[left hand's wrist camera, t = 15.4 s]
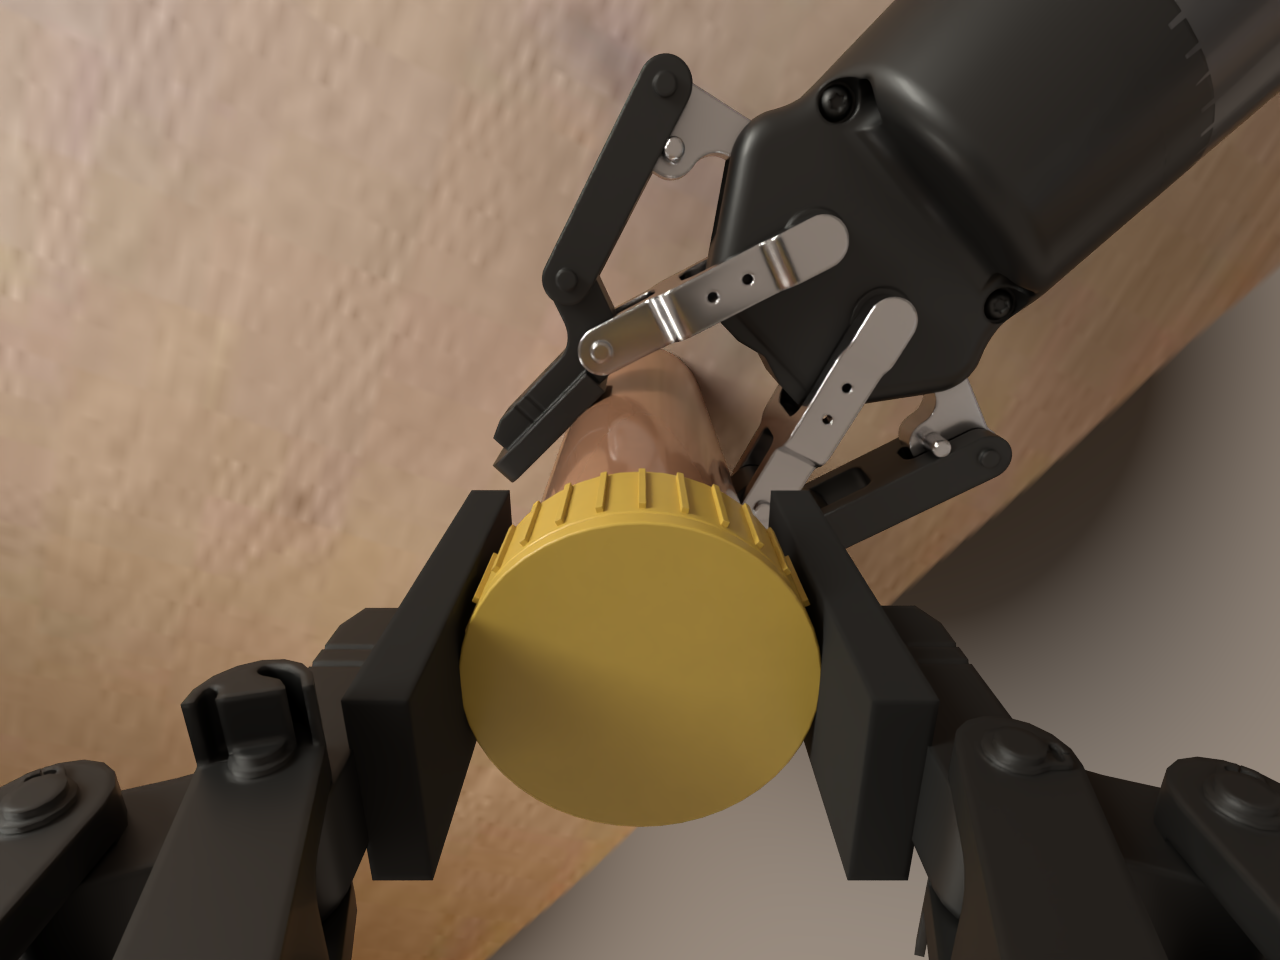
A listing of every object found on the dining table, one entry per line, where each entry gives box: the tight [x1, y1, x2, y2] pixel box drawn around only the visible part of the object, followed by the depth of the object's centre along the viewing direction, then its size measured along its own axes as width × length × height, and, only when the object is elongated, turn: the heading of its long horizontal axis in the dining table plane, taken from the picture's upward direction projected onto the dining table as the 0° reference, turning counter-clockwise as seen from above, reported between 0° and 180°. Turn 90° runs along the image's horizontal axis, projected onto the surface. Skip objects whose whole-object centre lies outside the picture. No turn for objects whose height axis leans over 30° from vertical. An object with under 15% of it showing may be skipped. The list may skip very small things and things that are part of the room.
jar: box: [541, 349, 740, 503], centre depth 18 cm, size 4×4×16 cm
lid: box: [459, 468, 821, 827], centre depth 11 cm, size 5×5×2 cm
